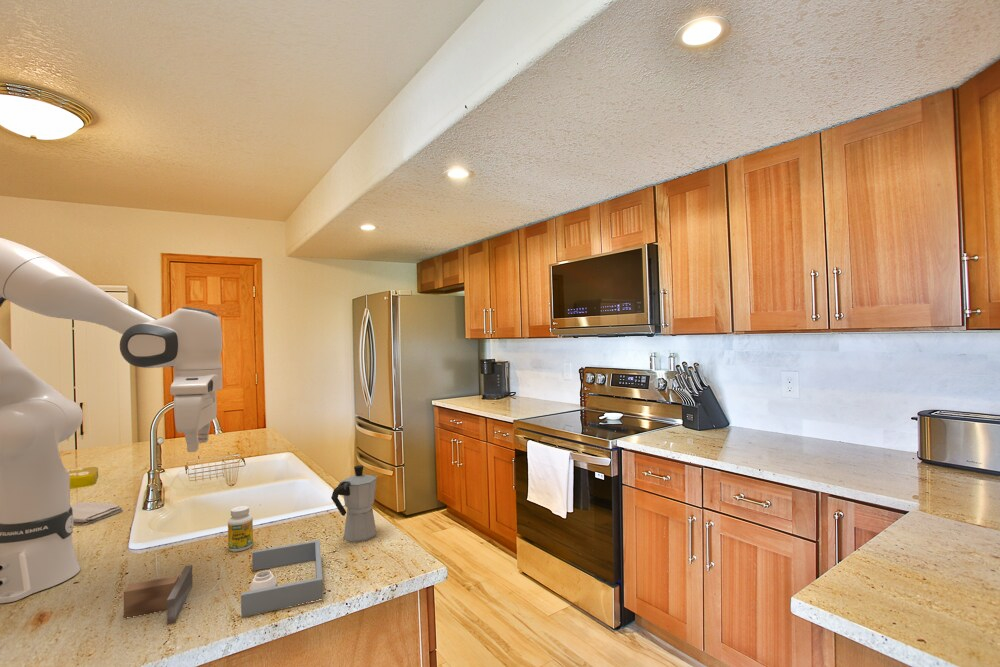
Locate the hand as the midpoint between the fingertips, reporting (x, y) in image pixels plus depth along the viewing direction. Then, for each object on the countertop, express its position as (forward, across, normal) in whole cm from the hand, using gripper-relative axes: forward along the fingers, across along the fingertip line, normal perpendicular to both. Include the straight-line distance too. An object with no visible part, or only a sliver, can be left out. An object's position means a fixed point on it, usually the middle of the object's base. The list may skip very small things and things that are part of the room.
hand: (198, 446), depth 102 cm
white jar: (+28, +10, +14) cm, 33 cm away
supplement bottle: (+28, -14, +6) cm, 32 cm away
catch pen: (+28, +10, +18) cm, 35 cm away
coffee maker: (+28, -8, +34) cm, 44 cm away
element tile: (+30, -101, -61) cm, 121 cm away
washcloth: (+30, -57, -41) cm, 76 cm away
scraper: (+28, +10, -5) cm, 31 cm away
